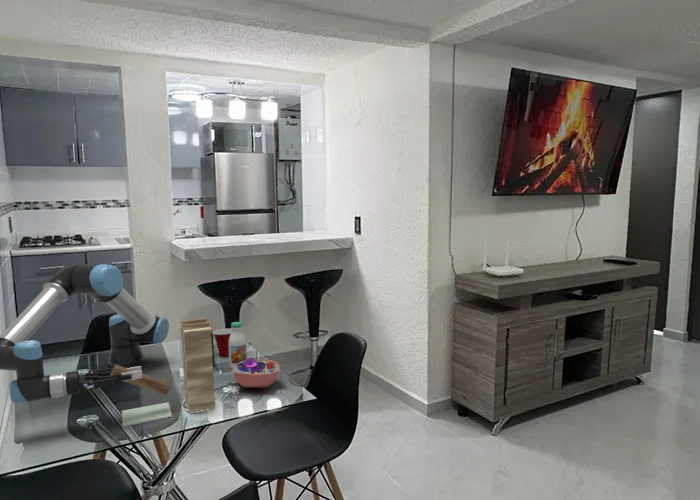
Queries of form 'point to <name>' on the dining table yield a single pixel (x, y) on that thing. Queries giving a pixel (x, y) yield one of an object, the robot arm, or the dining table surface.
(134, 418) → the mat
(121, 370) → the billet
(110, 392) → the dining table surface
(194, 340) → the wooden block tower
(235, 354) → the milk bottle
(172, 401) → the dining table surface
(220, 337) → the plastic cup
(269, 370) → the cell model
